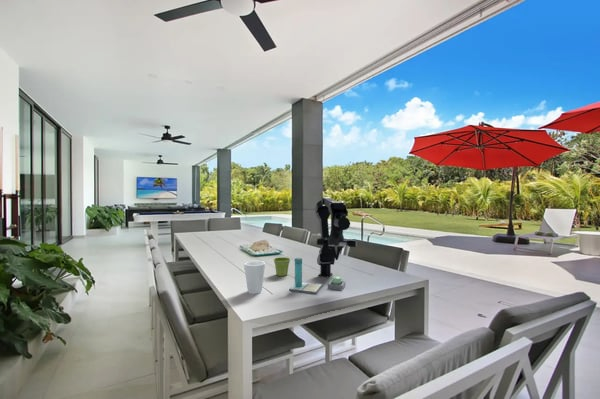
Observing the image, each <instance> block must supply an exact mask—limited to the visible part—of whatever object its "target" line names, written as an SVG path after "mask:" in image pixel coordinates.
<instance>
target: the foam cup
mask: <svg viewBox="0 0 600 399" xmlns="http://www.w3.org/2000/svg"><path fill="white" fill-rule="evenodd" d="M243 265H244V266H243V268H244V272H245V281H246V288H247V293H248V292H249V293H248V294H250V293H253V294H252V295H257V293H258V294H261V293H262V292H263V285H264V278H265V270H266V262H265V261H263V260H262V261H261V260H251V261H247V262H244V264H243Z"/></svg>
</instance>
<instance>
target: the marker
mask: <svg viewBox="0 0 600 399" xmlns="http://www.w3.org/2000/svg"><path fill="white" fill-rule="evenodd" d="M302 282H303V258H302V257H296V258H294V285H295V287H302Z"/></svg>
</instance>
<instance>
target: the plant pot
mask: <svg viewBox="0 0 600 399" xmlns="http://www.w3.org/2000/svg"><path fill="white" fill-rule="evenodd" d="M273 261H274V265H275V274H276V276H278V277H285V276H288V273H289V265H290V261H291V258H290V257H286V256H285V257H284V256H283V257H282V256H280V257H279V256H278V257H274V258H273Z"/></svg>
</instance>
